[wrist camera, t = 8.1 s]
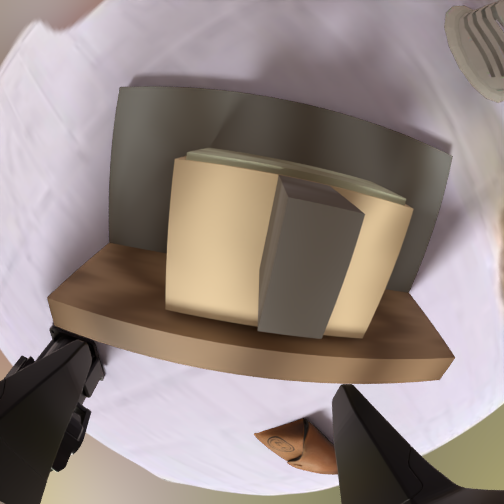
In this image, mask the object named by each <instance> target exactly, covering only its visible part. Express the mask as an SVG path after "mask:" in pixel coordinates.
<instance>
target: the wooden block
mask: <svg viewBox="0 0 504 504" xmlns="http://www.w3.org/2000/svg"><path fill="white" fill-rule="evenodd" d="M405 202H406V198H404V197H402V196H400V195H398V194H396V193H394V192H392V191H390V190H388V189H386V188H384V187H382V186H380V185H377V184H375V183H373V182H371V181H368V180H364V179H361V178H357V177H354V176H350V175H346V174H342V173H338V172H334V171H330V170H326V169H322V168H318V167H313V166H309V165H305V164H300V163H295V162H291V161H286V160H281V159H276V158H270V157H265V156H259V155H254V154H248V153H242V152H235V151H229V150H222V149H215V148H204V149H199V150H195V151H190V152H187V156H184V157H180V158H176V159H175V162H174V170H173V179H172V189H171V200H170V211H169V225H168V241H167V261H166V308H165V310H170V311H175V312H179V313H184V314H189V315H194V316H199V317H204V318H210V319H215V320H221V321H226V322H232V323H238V324H244V325H250V326H257V327H258V330H257V331H261V332H268V333H275V334H283V335H291V336H299V337H307V338H317V339H322V337H323V335H328V336H338V337H349V338H363V336H364V334H365V332H366V330H367V328H368V326H369V324H370V322H371V320H372V318H373V315H374V313H375V311H376V309H377V307H378V304H379V302H380V300H381V297H382V295H383V293H384V290H385V288H386V286H387V283H388V281H389V278H390V276H391V273H392V271H393V268H394V265H395V263H396V260H397V257H398V255H399V252H400V249H401V246H402V244H403V241H404V238H405V235H406V232H407V229H408V226H409V222H410V219H411V216H412V213H413V208H411V207H410V206H408V205H406V204H405Z"/></svg>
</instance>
